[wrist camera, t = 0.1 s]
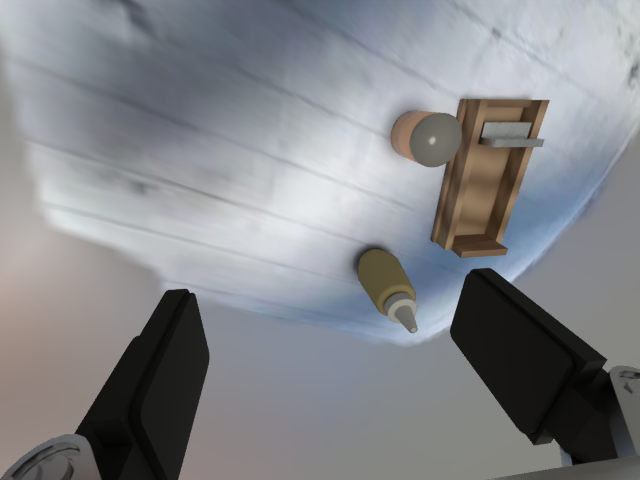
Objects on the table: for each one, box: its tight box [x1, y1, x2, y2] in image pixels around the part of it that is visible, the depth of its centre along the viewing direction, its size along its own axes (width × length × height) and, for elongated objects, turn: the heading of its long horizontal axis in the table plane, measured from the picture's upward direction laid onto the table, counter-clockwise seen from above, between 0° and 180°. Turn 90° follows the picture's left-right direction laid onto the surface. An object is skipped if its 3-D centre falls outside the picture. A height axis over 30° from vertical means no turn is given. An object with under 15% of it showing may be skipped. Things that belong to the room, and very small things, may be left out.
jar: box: [391, 111, 462, 167], centre depth 40 cm, size 7×7×8 cm
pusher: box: [478, 121, 545, 147], centre depth 41 cm, size 3×8×6 cm, turn 89°
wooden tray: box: [431, 99, 550, 258], centre depth 45 cm, size 24×12×7 cm, turn 179°
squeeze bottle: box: [358, 249, 418, 333], centre depth 45 cm, size 8×8×18 cm
